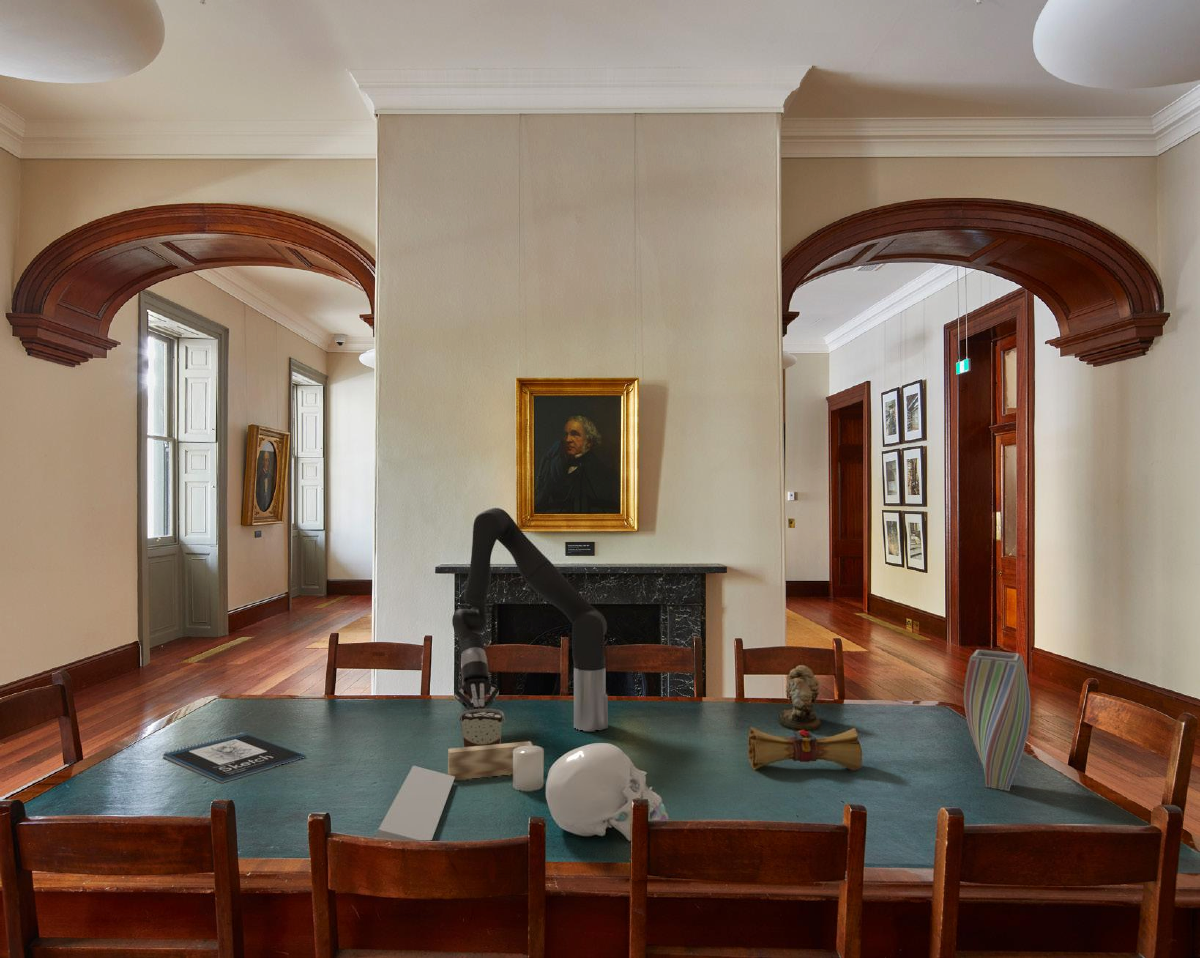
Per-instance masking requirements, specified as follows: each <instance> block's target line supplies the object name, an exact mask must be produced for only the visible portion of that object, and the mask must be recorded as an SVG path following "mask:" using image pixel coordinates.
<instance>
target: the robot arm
mask: <svg viewBox="0 0 1200 958" xmlns="http://www.w3.org/2000/svg"><path fill="white" fill-rule="evenodd" d="M472 526H473V527H472V543H471V557H470V566H469V571H468V575H467V581H466V585H465V589H464V593H463V594H464V595H463V601H464V603H466V604H468V605H470V606H472V607H476V609H469V608H460V609H456V610H455V612H454V613H453V614H452V619H451V621H452V622H451V623H452V628H453V630H454V632H455V633H454V634H455V635H456V638H457V639H458V640H457V641H458V642H459V645H460V655H461V656H460V657H461V658H460V660H461V661H460V665H461V666H460V669H461V676H462V677H461V678H462V685H461V688H460V689H459V690H458V689H457V690H455V694H454V698H455V700H457V701H458V703H460V704H461V705H462V707H464V708H465V709H466V711H469V710H474V709H490V707H491V706H492V705H493V703H494V702H495V700H496V699H497V697H498V696H499V693H500V687H494V686H493V685H492V683H491V681H490V675H489V668H488V658H487V655H486V649H485V647H486V646H485V640H484V637H483V636H482V635H481V634H482V633H483V632H484V631H485V630H486V628H487V626H488V613H487V610H488V609H487V604H488V603H487V601H488V596H489V593H490V592H489V591H490V587H491V582H492V581H491V580H492V568H491V567H492V566H491V557H492V552H493V549H494V546H495V544H496V543H497V542H496V541H498V542H499V544H500V543H501V545H502V546H503V547H504V548H505V549H506V550H507V551H508V552H509V553H510V555H511V556H512V558H513V560H514V563H515V566H516V567H517V570H518V572H519V574H520V576H521V578H523V580H524V581H525V582H526V583H527V584H528V586H529V587H530V588H531V589H532V590H533V591H535V593H536V594H538V595H539V596H540V597H541V598H543V599H544V600H545V601H547V602H548V603H550V604H552V605H553V606H554V607H556V608H557V609H558V610H560V611H561V612H562V614H564V615H565V616H566V617H567V618H568V620H569V622H571V624H572V631H571V640H572V641H571V642H572V643H571V647H572V652H571V653H572V659H573V728H574V729H575V728H576V730H577V729H578V730H577V731H580V730H583V731H582V732H596V731H595V730H599V731H602V730H605V729H608V728H609V727H608V723H609V722H608V721H609V720H608V718H609V716H608V715H609V713H608V712H609V711H608V710H609V709H608V707H609V706H608V697H609V696H608V694H607V692H606V678H607V676H606V674H607V673H606V667H607V666H606V656H605V635H606V633H607V631H608V630H607V629H608V622H607V620H606V618H605V616H604V615H603V614H602V613H601V612H600V611H599V610H597V608H595V607H594V606H593V605H591V603H589V602H588V601H587V600H586V599H585V598H584V597H582V596H581V595H580V593H578V592H577V590H576V589H575V588H574V587H573V586H572V584H571V583H570V582H569V580H568V579H566V577H565V576H564V575H563V574H562V572H560V570H559V569H558V568H557V567H556V566H555V565H554V564H553V562H551V561H550V560H549V559H548V557H546V556H545V555H544V554H543V553H542V552H541V550H540V549H539V548H538V547H536V545H535V544H534V543H533V542H532V541H531V540H530V539H529V538H528V537H527V536H526V535H525V534H524V532H523V531H522V530H521V529H520V527H519V526H518V524H517V523H516V522H515V521H514V519H513V518H512V516H511V515H510V514H509V513H508V512H507V511H505V510H504V509H502V508H500V507H493V508H489V509H487V510H484V511H482V512H480V513H479V514H477V516H475V519H474V521H473V525H472ZM488 694H490V695H489V697H488V698H487V700H486V701H485V699H486V697H487V696H488Z"/></svg>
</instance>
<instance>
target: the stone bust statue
mask: <svg viewBox="0 0 1200 958" xmlns="http://www.w3.org/2000/svg"><path fill="white" fill-rule="evenodd" d="M788 676H789V677H788V678H789V679H788V681H787V683H786V687H785V692H786V697H787V700H788V701H791V702H792V705H793V706H792V709H791V708H790V709H784V710H782V711H781V714H779V716H778V722H779V724H780V725H781V726H782V727H783V728H786V729H788V730H792V731H800V730H802V729H803V730H805V731H810V732H815V731H817V730H818V729H820V727H821V721H820V719H819V718H818V717H817V715H816V712H815V711H814V709H813V705H812V704H813V703H815V702H816V700H817V698H818V695H820V691H819V685H820V684H819V681H818V680H817V678H815V675H814V672H813V670H812V669H811V668H809V667H808V666H806V665H804V664H801V665H800V664H799V665H796V667H795V668H793V669H790V671H789V674H788Z"/></svg>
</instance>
